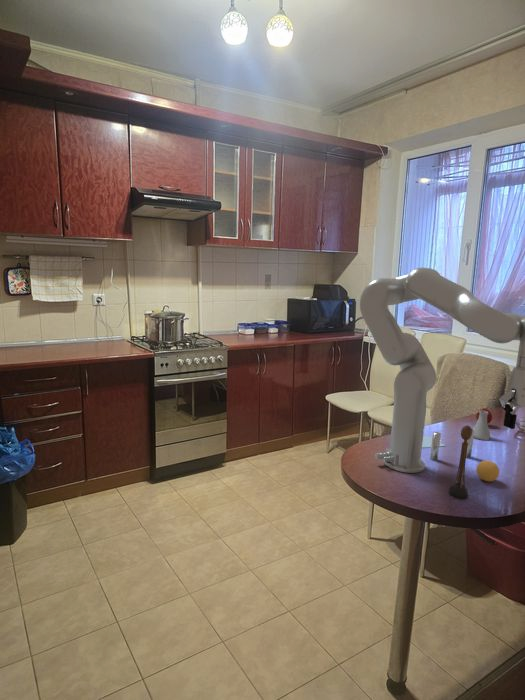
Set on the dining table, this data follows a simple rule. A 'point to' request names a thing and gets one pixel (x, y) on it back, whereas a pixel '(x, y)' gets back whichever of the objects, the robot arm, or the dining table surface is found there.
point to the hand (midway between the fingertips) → (523, 426)
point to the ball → (487, 470)
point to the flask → (482, 427)
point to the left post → (435, 446)
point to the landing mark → (428, 442)
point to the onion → (489, 416)
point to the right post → (470, 446)
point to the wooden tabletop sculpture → (461, 467)
